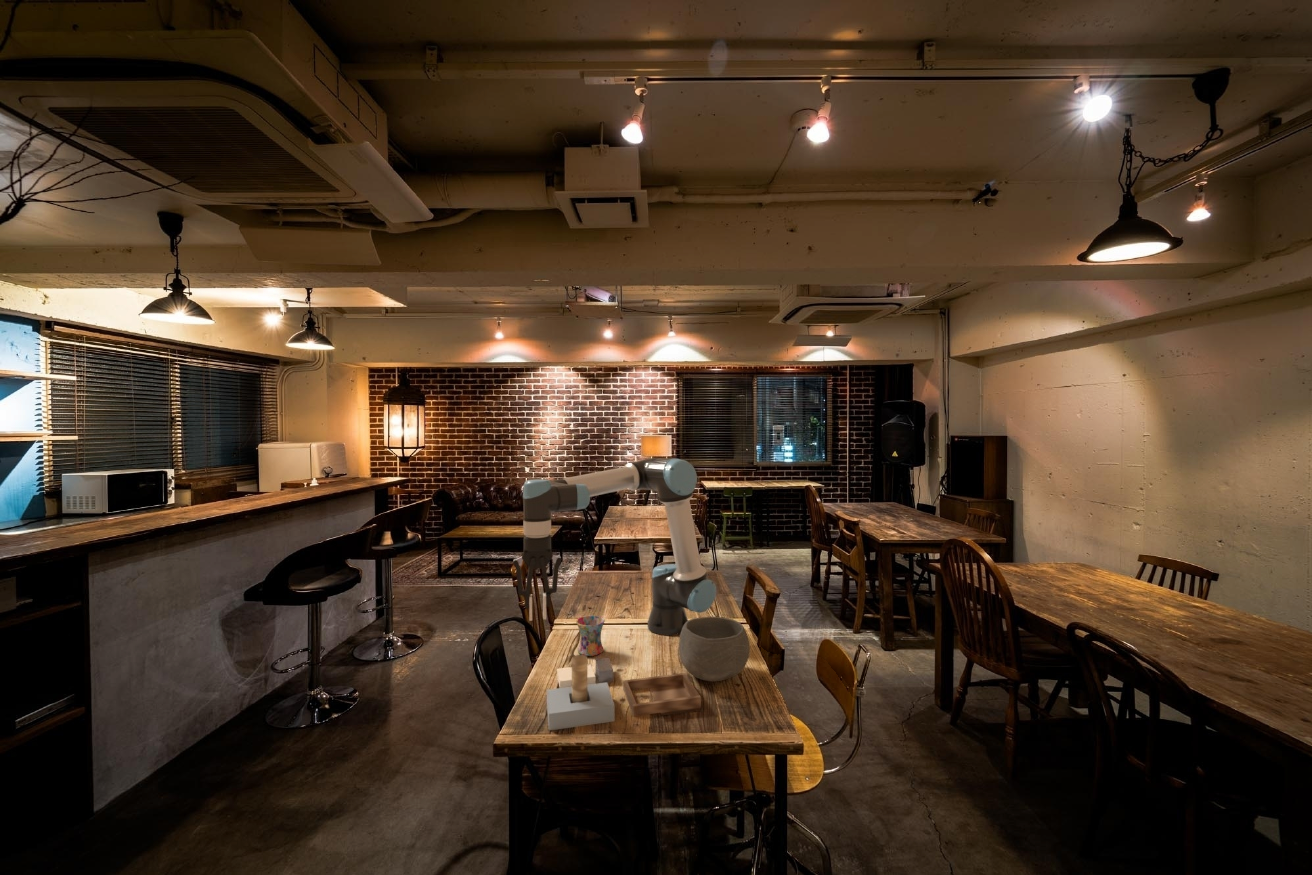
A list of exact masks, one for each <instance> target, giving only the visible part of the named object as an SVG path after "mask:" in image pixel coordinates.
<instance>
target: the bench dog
mask: <svg viewBox="0 0 1312 875" xmlns="http://www.w3.org/2000/svg"><path fill="white" fill-rule="evenodd" d="M595 675H596V677H597V681H598V683H606V682H607V684H608V683H614V668H613V665H612V663H611V660H610V658H609V657H605V658H596V659H595Z"/></svg>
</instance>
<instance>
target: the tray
mask: <svg viewBox="0 0 1312 875" xmlns="http://www.w3.org/2000/svg"><path fill="white" fill-rule="evenodd" d="M622 684H623V685H622V690H623V692H624V695H625V698H626V701H627V704H628V705H629V708H630V711H631V714H632V716H633V717H637V716H645V715H651V714H659V713H660V715H661V716H662V717H664V716H671V715H679V714H684V713H685V714H686V713H687V714H688V713H692V712H694V713H695V712H699V711H702V697H701V695H700V693H699V692H698V691H697V689H696V688H695V685H694V684H693V683H692V681H691V680H690V679H689V677H688V675H687V674H686V673H685V672H681V673H672V674H665V675H658V676H657V675H656V676H655V675H654V676H649V677H641V678H640V677H639V678H632V679H624V680H622ZM643 689H648V690H649V692H650V694H651V696H652V698H653V701H648V702H647V701H646V702H640V703H639V702H638V703H637V702H636V700H635V697H634V695H633V692H632V691H637V690H643Z"/></svg>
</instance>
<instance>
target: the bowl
mask: <svg viewBox="0 0 1312 875" xmlns="http://www.w3.org/2000/svg"><path fill="white" fill-rule="evenodd" d="M750 652H751V645H750V640H749V636H748V633H747V631H746V629H745V626H743V624H741V622H740V621H737V620H735V619H732V618H728V617H722V616H703V617H693V618H691V619H688V621H687V622H686V623H685V624H684V626H683V628H682V631H681V634H679V641H678V655H679V660H680V663H681V664H682V665H683V667H684V668H685V670H686V671H687V672H688V673H689V674H690V675H691V676H694V677H695V678H697V679H699V680H702V681H706V682H720V681H725V680H727V679H731V678H733V677H736V676H737V675H738V674H740V673H741V672H742V671H743V670H744V669H745V668H746V665H747V662H748V660H749V658H750V657H749V656H750Z"/></svg>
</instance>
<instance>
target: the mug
mask: <svg viewBox="0 0 1312 875" xmlns="http://www.w3.org/2000/svg"><path fill="white" fill-rule="evenodd" d="M605 621H606V620H605V617H602V616H600V615H585V616H584V615H583V616H581V617H579V618H577V619H576V621H575V622H576V625H577V629H578V631H579V639H580V640H579V645H578V648H577V653H578V655H584V656H587V657H593V656H598V655H600V654H601V653H603V652H604V646H603V644H602V629H603V627H604V623H605Z"/></svg>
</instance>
